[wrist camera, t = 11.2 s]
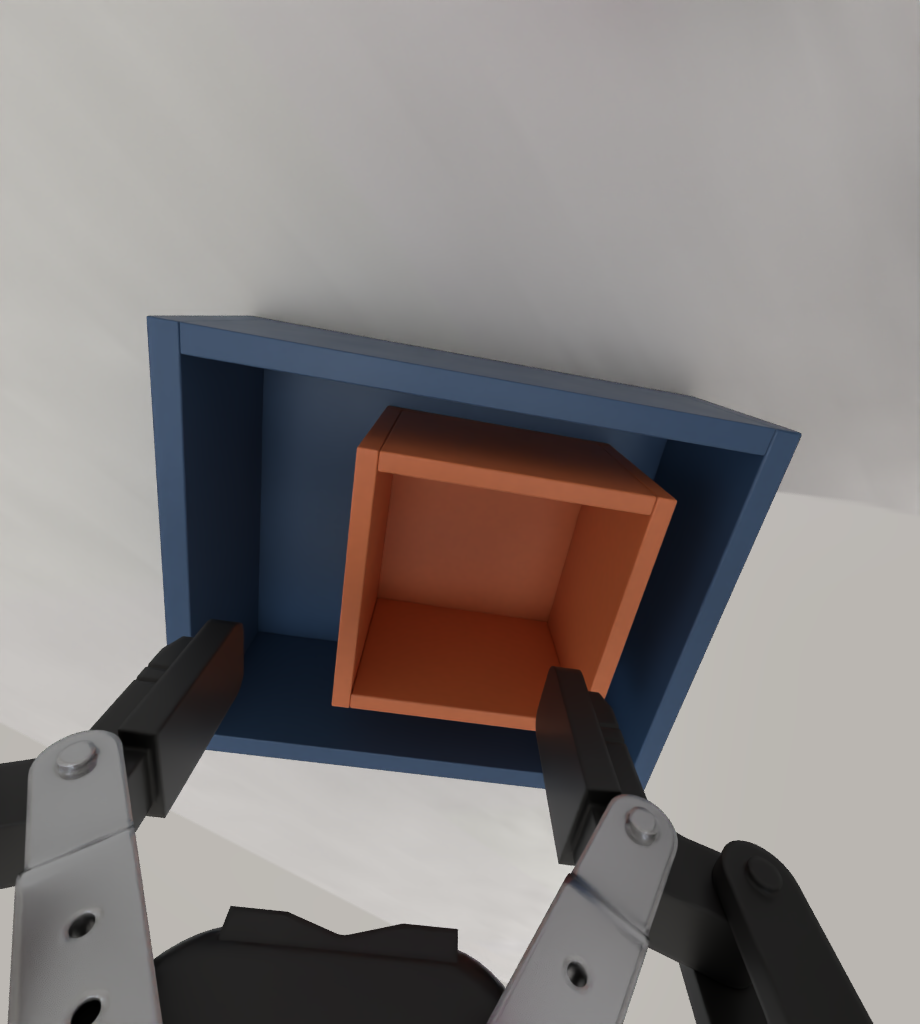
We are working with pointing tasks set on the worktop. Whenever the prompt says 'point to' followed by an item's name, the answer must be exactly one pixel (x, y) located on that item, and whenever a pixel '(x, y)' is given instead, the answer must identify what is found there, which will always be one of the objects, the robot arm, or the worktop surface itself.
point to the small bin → (488, 566)
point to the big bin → (326, 516)
